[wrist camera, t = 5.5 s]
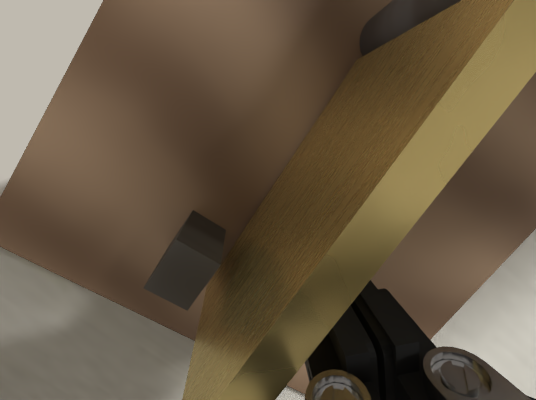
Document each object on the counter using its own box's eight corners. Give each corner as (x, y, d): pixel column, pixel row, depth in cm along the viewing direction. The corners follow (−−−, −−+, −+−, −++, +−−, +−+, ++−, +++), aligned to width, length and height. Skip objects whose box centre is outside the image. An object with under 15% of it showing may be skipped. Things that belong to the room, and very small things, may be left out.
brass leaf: (356, 60, 10) (553, -52, 4) (377, 76, 10) (595, -3, 4) (207, 285, 12) (167, 467, 6) (226, 295, 12) (210, 480, 6)
